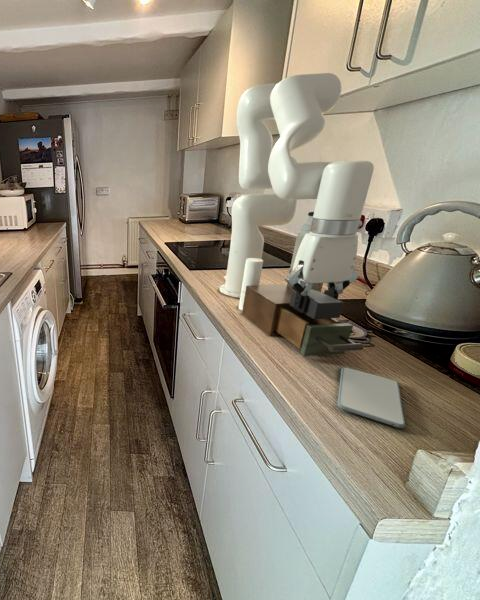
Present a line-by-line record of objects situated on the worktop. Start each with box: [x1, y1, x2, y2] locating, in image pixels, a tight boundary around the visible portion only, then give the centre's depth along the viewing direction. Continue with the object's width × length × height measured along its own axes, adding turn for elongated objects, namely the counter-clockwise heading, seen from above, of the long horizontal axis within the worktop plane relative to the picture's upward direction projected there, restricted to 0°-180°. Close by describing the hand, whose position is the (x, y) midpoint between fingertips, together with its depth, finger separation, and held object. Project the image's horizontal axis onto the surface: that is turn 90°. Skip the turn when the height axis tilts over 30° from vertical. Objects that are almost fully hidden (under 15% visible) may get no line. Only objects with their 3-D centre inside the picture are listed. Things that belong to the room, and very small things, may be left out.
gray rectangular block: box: [290, 289, 344, 319], centre depth 70 cm, size 6×8×4 cm
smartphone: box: [336, 366, 406, 429], centre depth 56 cm, size 8×1×15 cm
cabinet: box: [241, 283, 294, 337], centre depth 83 cm, size 14×10×9 cm
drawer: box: [274, 306, 364, 357], centre depth 70 cm, size 17×9×7 cm, turn 2°
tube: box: [238, 258, 264, 312], centre depth 91 cm, size 4×4×15 cm
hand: (313, 309), depth 70 cm, fingers closed on gray rectangular block, 5 cm apart
